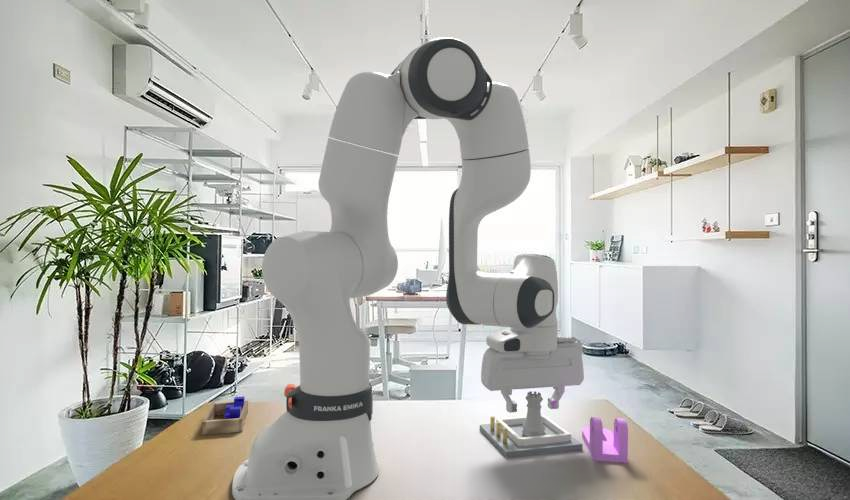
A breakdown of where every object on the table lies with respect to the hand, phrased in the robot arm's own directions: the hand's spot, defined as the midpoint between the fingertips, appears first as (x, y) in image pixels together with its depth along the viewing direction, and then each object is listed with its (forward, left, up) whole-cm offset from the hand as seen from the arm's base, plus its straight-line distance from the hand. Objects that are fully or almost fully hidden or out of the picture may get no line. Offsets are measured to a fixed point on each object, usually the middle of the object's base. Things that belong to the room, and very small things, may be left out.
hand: (532, 409), depth 94 cm
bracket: (+11, -6, -6) cm, 14 cm away
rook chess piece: (0, -1, -5) cm, 5 cm away
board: (-1, 0, -5) cm, 6 cm away
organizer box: (-58, +21, -5) cm, 62 cm away
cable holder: (-57, +22, -6) cm, 61 cm away
